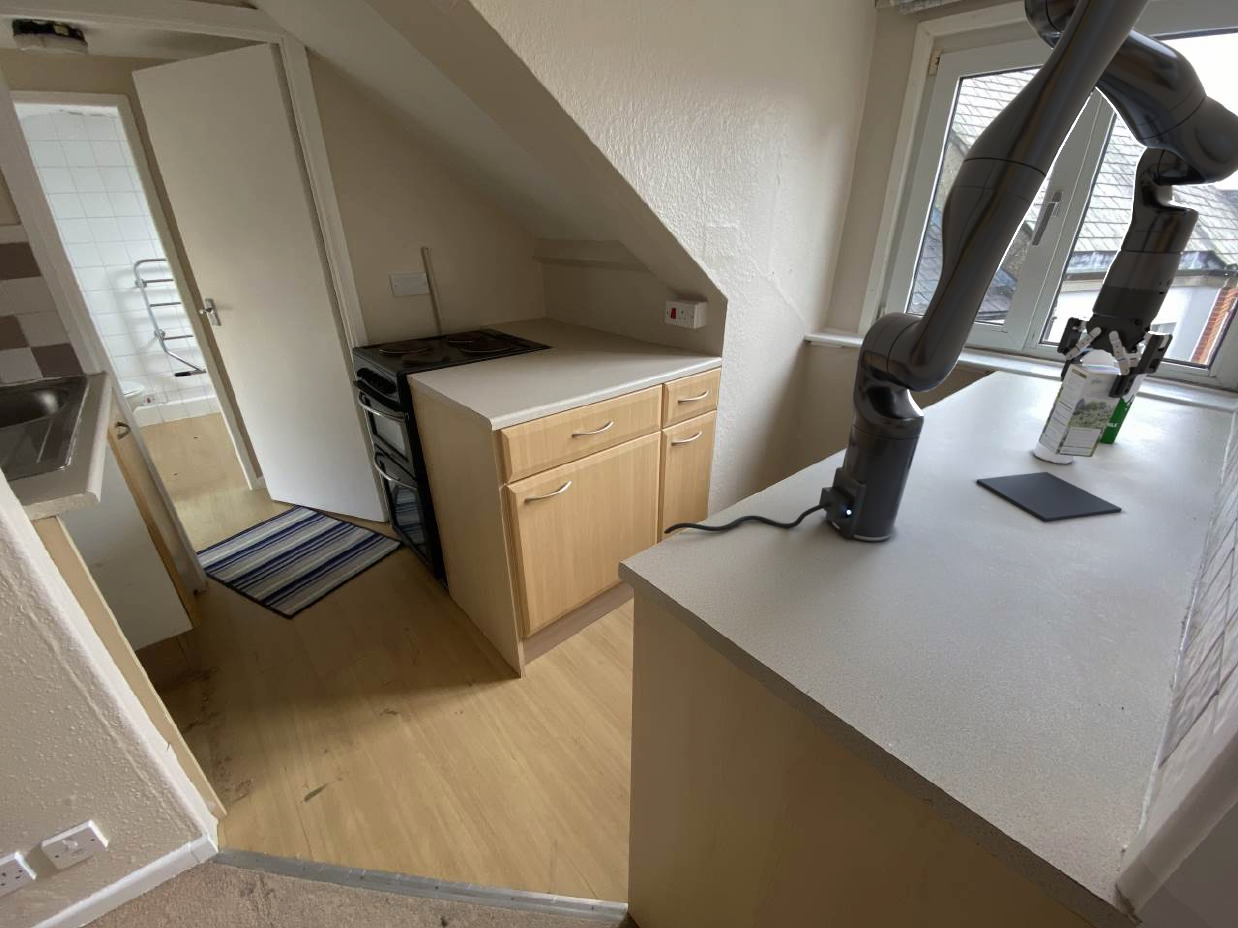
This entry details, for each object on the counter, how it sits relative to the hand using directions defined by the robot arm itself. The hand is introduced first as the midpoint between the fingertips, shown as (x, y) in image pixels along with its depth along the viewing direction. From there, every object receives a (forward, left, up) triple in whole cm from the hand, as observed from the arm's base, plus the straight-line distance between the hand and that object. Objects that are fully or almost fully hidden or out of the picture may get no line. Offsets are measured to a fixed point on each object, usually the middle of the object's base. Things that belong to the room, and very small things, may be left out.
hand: (1090, 389), depth 86 cm
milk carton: (+36, +21, -20) cm, 46 cm away
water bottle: (+16, +14, -20) cm, 29 cm away
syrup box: (0, 0, -11) cm, 11 cm away
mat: (0, 0, -20) cm, 20 cm away
